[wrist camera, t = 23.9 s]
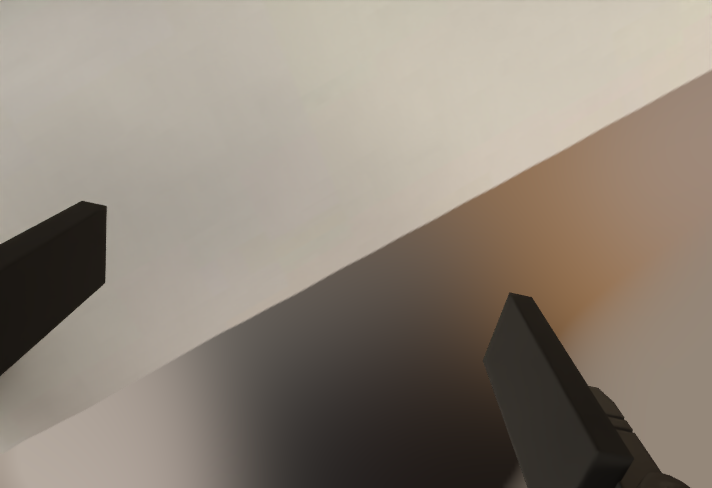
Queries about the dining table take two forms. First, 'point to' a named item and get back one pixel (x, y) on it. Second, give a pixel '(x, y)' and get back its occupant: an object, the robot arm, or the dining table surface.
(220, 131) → the dining table surface
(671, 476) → the robot arm
